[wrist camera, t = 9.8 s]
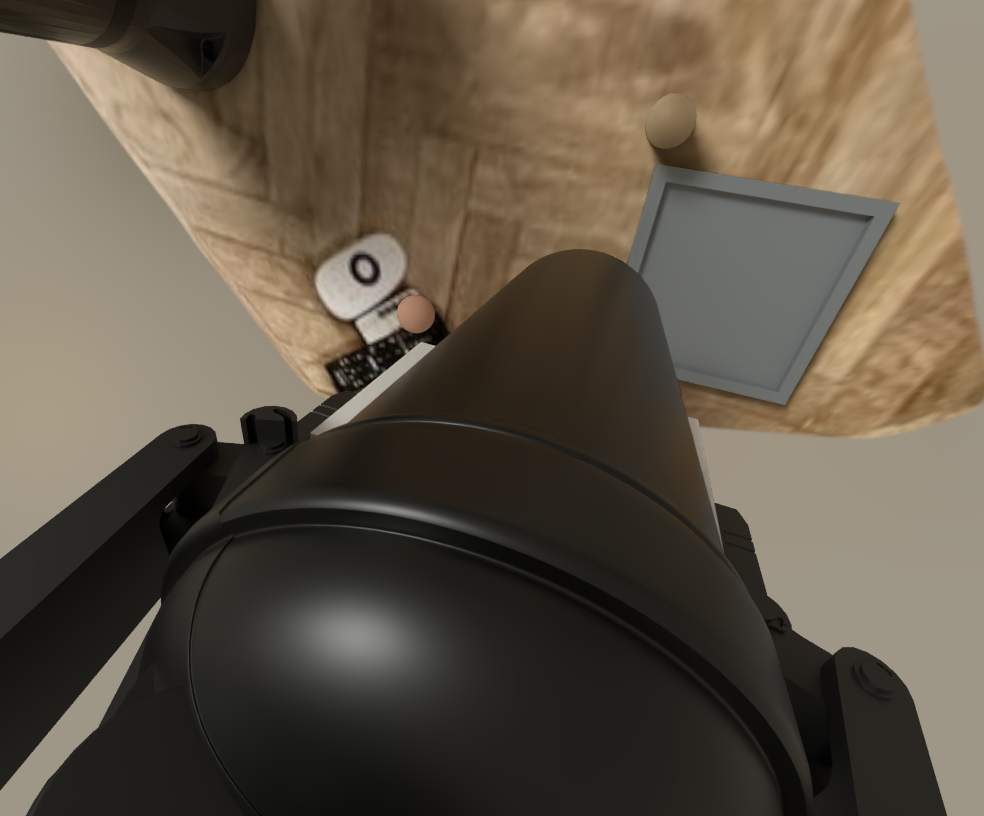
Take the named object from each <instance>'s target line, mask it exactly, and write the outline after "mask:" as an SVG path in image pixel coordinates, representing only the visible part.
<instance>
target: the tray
mask: <svg viewBox="0 0 984 816" xmlns="http://www.w3.org/2000/svg"><path fill="white" fill-rule="evenodd" d="M899 204H900V203H896V202H891V201H885V200H879V199H873V198H867V197H860V196H854V195H848V194H842V193H835V192H829V191H823V190H817V189H811V188H804V187H798V186H792V185H786V184H780V183H773V182H767V181H761V180H755V179H749V178H742V177H736V176H730V175H724V174H718V173H711V172H705V171H699V170H693V169H686V168H680V167H674V166H668V165H662V164H656V165H655V169H654V172H653V176H652V179H651V183H650V186H649V190H648V193H647V197H646V200H645V204H644V207H643V210H642V214H641V217H640V221H639V224H638V228H637V231H636V235H635V238H634V242H633V245H632V249H631V252H630V255H629V259H628V262H627V265H629V266H630V267H631V268H633V269H634V270H635V271H636V272H637V273H638V274H639V275H640V276H641V277H642V278H643V279H644V281H645V282H646V283H647V285H648V286H649V288H650V290H651V291H652V293H653V295H654V297H655V300H656V303H657V306H658V309H659V313H660V317H661V320H662V324H663V328H664V332H665V335H666V339H667V343H668V347H669V350H670V354H671V358H672V361H673V365H674V369H675V373H676V376H677V379H678V380H682V381H686V382H690V383H694V384H699V385H703V386H707V387H711V388H715V389H720V390H724V391H728V392H732V393H736V394H740V395H745V396H749V397H753V398H757V399H761V400H766V401H770V402H774V403H778V404H782V405H785V404H786V403H787V401H788V399H789V397H790V395H791V394H792V392H793V390H794V388H795V387H796V385H797V383H798V381H799V380H800V378H801V376H802V374H803V373H804V371H805V369H806V367H807V366H808V364H809V362H810V360H811V359H812V357H813V355H814V353H815V352H816V350H817V348H818V346H819V345H820V343H821V341H822V339H823V338H824V336H825V334H826V332H827V331H828V329H829V327H830V325H831V324H832V322H833V320H834V318H835V317H836V315H837V313H838V311H839V309H840V308H841V306H842V304H843V302H844V301H845V299H846V297H847V295H848V294H849V292H850V290H851V288H852V287H853V285H854V283H855V281H856V280H857V278H858V276H859V274H860V273H861V271H862V269H863V267H864V266H865V264H866V262H867V260H868V259H869V257H870V255H871V253H872V252H873V250H874V248H875V246H876V245H877V243H878V241H879V239H880V238H881V236H882V234H883V232H884V231H885V229H886V227H887V225H888V223H889V222H890V220H891V218H892V216H893V215H894V213H895V211H896V209H897V208H898V206H899Z"/></svg>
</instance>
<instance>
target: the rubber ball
mask: <svg viewBox="0 0 984 816" xmlns="http://www.w3.org/2000/svg"><path fill="white" fill-rule="evenodd" d="M397 317H398V320H399V322H400V324H401V326H402V327H403V328H404V329H406V330H407V331H409V332H412V333H421V332H424V331H426V330H427V329H429V328H430V327H431V325H432V324H433V322H434V318H435V311H434V308H433V305H432V304H431V302H430V301H429V300H428V299H426V298H425V297H423V296H419V295H411V296H408V297H406V298H405V299H403V300H402V302H401V303H400V304H399V307H398V310H397Z"/></svg>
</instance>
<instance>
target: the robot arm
mask: <svg viewBox="0 0 984 816" xmlns="http://www.w3.org/2000/svg"><path fill="white" fill-rule="evenodd" d="M254 25H255V0H0V32H2V33H8V34H14V35H20V36H26V37H32V38H38V39H44V40H50V41H56V42H62V43H68V44H75V45H80V46H85V47H91V48H95V49H97V50H99V51H101V52H103V53H105V54H107V55H109V56H111V57H112V58H114V59H116V60H118V61H120V62H122V63H124V64H126V65H127V66H129V67H131V68H133V69H135V70H137V71H139V72H140V73H142V74H144V75H146V76H148V77H150V78H152V79H154V80H156V81H158V82H160V83H163V84H166V85H169V86H172V87H177V88H183V89H190V90H199V91H206V90H212V89H216V88H218V87H221V86H223V85H224V84H226V83H227V82H229V81H230V80H231V79H232V78H233V77H234V76H235V75H236V74H237V73H238V71H239V70H240V68H241V67H242V65H243V63H244V61H245V59H246V57H247V55H248V52H249V49H250V46H251V42H252V38H253V32H254ZM434 347H435V346H433V345H430V344H426V343H423V342H421V343H419V344H418V345H417V346H416V347H414V348H413V349H412V350H411V351H410V352H408V353H407V354H406V355H405V356H403V357H402V358H401V359H400V360H399V361H397V362H396V363H395V364H394V365H392V366H391V367H390V368H389V369H388V370H386V371H385V372H384V373H383V374H381V375H380V376H379V377H378V378H377V379H375V380H374V381H373V382H372V383H370V384H369V385H368V386H367V387H366V388H364V389H363V390H362V391H361V392H359V393H358V394H357V393H353V392H350V391H344V392H341V393H338V394H335V395H333V396H331V397H330V398H328V399H327V400H326V401H324V402H323V403H322V404H321V406H318V407H316V408H315V409H314V410H313V412H310V413H309V414H307V415H306V416H305V417H303V418H302V419H301V420H299V421H298V422H297V416H296V414H295V413H294V412H293V411H291V410H289V409H287V408H285V407H279V406H264V407H260V408H257V409H253V410H251V411H249V412H247V413H245V414H244V415H243V416H242V417H241V418H240V421H241V427H242V433H243V439H244V444H235V443H223V442H217V437H216V433H215V431H214V430H213V429H212V428H210V427H208V426H205V425H198V424H189V425H182V426H178V427H175V428H172V429H169V430H167V431H166V432H164V433H162V434H160V435H159V436H158V437H157V438H155V439H154V440H153V441H152V442H150V443H149V444H148V445H146V446H145V447H144V448H142V449H141V450H140V451H139V452H137V453H136V454H135V455H133V456H132V457H131V458H130V459H128V460H127V461H126V462H124V463H123V464H122V465H121V466H119V467H118V468H117V469H115V470H114V471H113V472H111V474H109V475H108V476H106V477H105V478H104V479H103V480H101V481H100V482H99V483H97V484H96V485H95V486H94V487H92V488H91V489H90V490H88V491H87V492H86V493H84V494H83V495H82V496H81V497H79V498H78V499H77V500H76V501H74V502H73V503H72V504H70V505H69V506H68V507H66V508H65V509H64V510H63V511H61V512H60V513H59V514H57V515H56V516H55V517H54V518H52V519H51V520H50V521H49V522H47V523H46V524H45V525H43V526H42V527H41V528H39V529H38V530H37V531H36V532H34V533H33V534H32V535H30V536H29V537H28V538H27V539H25V540H24V541H23V542H21V543H20V544H19V545H18V546H16V547H15V548H14V549H12V550H11V551H10V552H9V553H7V554H6V555H5V556H3V557H2V558H1V559H0V790H1V789H2V788H3V786H4V785H5V784H6V783H7V782H8V781H9V779H10V778H11V777H12V776H13V775H14V773H15V772H16V771H17V770H18V769H19V767H20V766H21V765H22V764H23V762H24V761H25V760H26V759H27V758H28V757H29V755H30V754H31V753H32V752H33V750H34V749H35V748H36V747H37V746H38V745H39V743H40V742H41V741H42V740H43V738H44V737H45V736H46V735H47V734H48V732H49V731H50V730H51V729H52V728H53V726H54V725H55V724H56V723H57V722H58V720H59V719H60V718H61V717H62V716H63V714H64V713H65V712H66V711H67V710H68V708H69V707H70V706H71V705H72V704H73V702H74V701H75V700H76V699H77V697H78V696H79V695H80V694H81V693H82V692H83V690H84V689H85V688H86V687H87V685H88V684H89V683H90V682H91V681H92V679H93V678H94V677H95V676H96V675H97V673H98V672H99V671H100V670H101V669H102V667H103V666H104V665H105V664H106V663H107V661H108V660H109V659H110V658H111V657H112V655H113V654H114V653H115V652H116V651H117V649H118V648H119V647H120V646H121V644H122V643H123V642H124V641H125V640H126V638H127V637H128V636H129V635H130V634H131V632H132V631H133V630H134V629H135V628H136V626H137V625H138V624H139V623H140V622H141V620H142V619H143V618H144V617H145V615H146V614H147V613H148V612H149V611H150V609H151V608H152V607H153V606H154V605H155V603H156V602H157V601H158V600H159V599H160V598H161V581H162V576H163V571H164V568H165V565H166V562H167V560H168V558H169V556H170V554H171V552H172V551H173V549H174V548H175V546H176V545H177V544H178V542H179V541H180V540H181V539H182V537H183V536H184V535H185V534H186V533H187V532H188V531H189V529H190V528H191V527H192V526H193V525H194V524H195V523H196V522H197V521H198V520H200V519H201V518H202V517H203V516H204V515H205V514H207V513H208V512H209V511H210V510H211V509H213V508H214V507H215V506H216V505H217V504H218V503H220V502H221V501H222V500H223V499H224V498H226V497H227V496H228V495H229V494H230V493H232V492H233V491H234V490H235V489H236V488H237V487H239V486H240V485H241V484H242V483H243V482H245V481H246V480H247V479H248V478H249V477H251V476H252V475H253V474H254V473H255V472H256V471H258V470H259V469H260V468H261V467H262V466H264V465H265V464H266V463H267V462H268V461H270V460H271V459H272V458H273V457H275V456H276V455H277V454H279V453H280V452H282V451H283V450H285V449H287V448H288V447H290V446H292V445H293V444H295V443H297V442H302V441H306V440H309V439H311V438H313V437H315V436H317V435H319V434H321V433H323V432H325V431H327V430H330V429H332V428H335V427H337V426H340V425H343V424H346V423H348V422H349V421H350V420H351V419H352V418H353V417H355V416H356V415H357V414H358V413H359V412H360V411H362V410H363V409H364V408H365V407H366V406H367V405H368V404H370V403H371V402H372V401H373V400H374V399H375V398H377V397H378V396H379V395H380V394H381V393H382V392H383V391H385V390H386V389H387V388H388V387H389V386H390V385H392V384H393V383H394V382H395V381H396V380H397V379H398V378H400V377H401V376H402V375H403V374H404V373H405V372H407V371H408V370H409V369H410V368H411V367H412V366H414V365H415V364H416V363H417V362H418V361H419V360H420V359H422V358H423V357H424V356H425V355H426V354H427V353H429V352H430V351H431V350H432V349H433V348H434ZM688 421H689V425H690V428H691V432H692V434H693V438H694V443H695V447H696V451H697V455H698V458H699V462H700V466H701V469H702V473H703V477H704V481H705V484H706V488H707V492H708V496H709V499H710V503H711V507H712V510H713V514H714V518H715V522H716V525H717V529H718V533H719V537H720V540H721V544H722V548H723V551H724V555H725V556H726V557H727V559H728V560H729V562H730V563H731V564H732V566H733V567H734V569H735V570H736V572H737V573H738V575H739V576H740V578H741V579H742V581H743V583H744V585H745V587H746V589H747V590H748V592H749V595H750V596H751V598H752V599H753V601H754V603H755V604H756V606H757V608H758V609H759V611H760V613H761V615H762V617H763V619H764V620H765V623H766V625H767V627H768V629H769V632H770V634H771V637H772V640H773V642H774V645H775V649H776V652H777V656H778V659H779V663H780V666H781V670H782V673H783V677H784V680H785V684H786V687H787V691H788V694H789V698H790V701H791V705H792V708H793V712H794V715H795V719H796V722H797V726H798V729H799V733H800V736H801V740H802V743H803V747H804V750H805V754H806V757H807V761H808V765H809V768H810V774H811V779H812V788H813V797H814V816H947V814H946V810H945V807H944V804H943V800H942V797H941V794H940V790H939V787H938V783H937V780H936V776H935V773H934V770H933V766H932V763H931V759H930V756H929V752H928V749H927V746H926V742H925V739H924V735H923V732H922V729H921V725H920V722H919V718H918V715H917V711H916V708H915V704H914V701H913V699H912V697H911V695H910V693H909V690H908V688H907V687H906V685H905V684H904V683H903V682H902V680H901V679H900V678H899V677H898V675H897V674H896V673H895V672H894V671H893V670H891V669H890V668H889V667H888V666H887V665H886V664H884V663H883V662H882V661H881V660H879V659H877V658H876V657H874V656H873V655H871V654H869V653H867V652H865V651H862V650H859V649H857V648H854V647H843V648H841V649H840V650H838V651H837V652H836V653H835V654H834V655H831V654H830V653H829V652H827V651H825V650H823V649H822V648H820V647H818V646H817V645H815V644H813V643H812V642H810V641H808V640H807V639H805V638H803V637H802V636H800V635H799V634H797V633H796V632H795V631H793V630H792V626H791V623H790V621H789V619H788V617H787V615H786V613H785V612H784V611H783V610H782V608H781V607H780V606H779V605H778V604H777V603H776V602H775V601H774V600H772V599H771V598H770V597H768V596H767V593H766V589H765V585H764V582H763V578H762V574H761V571H760V567H759V563H758V560H757V556H756V554H755V549H754V545H753V542H751V540H752V538H751V534H750V531H749V527H748V524H747V523H746V522H745V520H744V519H743V517H742V516H741V515H740V513H739V512H738V511H737V510H736V509H733V508H730V507H727V506H723V505H720V504H717V503H714V499H713V495H712V489H711V484H710V479H709V474H708V469H707V464H706V458H705V453H704V448H703V443H702V438H701V433H700V427H699V422H698V419H695V418H691V417H688ZM171 501H172V503H171V504H170V505H169V506H168V507H167V508H165V507H166V506H167V505H168V504H169V503H170V502H171ZM162 604H163V603H162ZM161 606H162V605H161ZM154 620H155V619H154ZM153 622H154V621H153ZM152 624H153V623H152ZM151 626H152V625H151ZM150 629H151V627H150ZM150 629H149V631H150ZM149 631H148V632H147V634H146V636H145V638H144V640H143V642H142V644H141V646H140V648H139V650H138V652H137V654H136V656H135V657H134V659H133V661H132V663H131V665H130V667H129V669H128V671H127V673H126V675H125V677H124V679H123V681H122V683H121V685H120V686H119V688H118V690H117V692H116V694H115V696H114V698H113V700H112V702H111V704H110V706H109V708H108V710H107V712H106V713H105V715H104V717H103V719H102V721H101V723H100V725H99V727H100V726H101V725H103V724H104V723H105V722H106V721H108V720H109V719H110V718H111V717H113V716H114V715H115V713H116V711H117V710H118V708H119V706H120V705H121V703H122V702H123V700H124V699H125V697H126V695H127V694H128V692H129V691H130V689H131V688H132V687H133V685H134V684H135V682H136V681H137V680H138V673H139V667H140V662H141V658H142V653H143V650H144V646H145V643H146V640H147V637H148V634H149ZM99 727H98V728H99ZM55 773H56V772H55ZM55 773H54V774H55ZM54 774H53V775H52V776H51V778H49V780H48V781H47V782H46V784H45V785H44V787H43V788H42V790H41V791H40V793H39V795H38V796H37V798H36V799H35V800H34V802H33V804H32V806H31V808H30V809H29V811H28V813H27V815H26V816H30V814H31V812H32V811H33V809H34V807H35V805H36V803H37V801H38V799H39V797H40V795H41V793H42V792H43V790H44V789H45V787H46V786H47V784H48V783H49V782H50V780H51V779H52V777H53V776H54Z"/></svg>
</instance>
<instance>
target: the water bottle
mask: <svg viewBox="0 0 984 816" xmlns="http://www.w3.org/2000/svg"><path fill="white" fill-rule="evenodd" d="M162 603H163V604H162ZM161 605H162V606H161V607H160V609H159V611H158V613H157V615H156V617H155V620H154V622H153V624H152V626H151V629H150V631H149V634H148V637H147V640H146V643H145V646H144V650H143V653H142V658H141V662H140V667H139V673H138V680H137V681H136V682H135V684H134V685H133V687H132V688H131V689H130V691H129V692H128V694H127V695H126V697H125V699H124V700H123V702H122V703H121V705H120V706H119V708H118V710H117V711H116V713H115V715H114V716H113V717H111V718H110V719H109V720H108V721H106V722H105V723H104V724H103V725H101V726H100V727H99V728H97V729H96V730H95V731H94V732H92V733H91V734H90V735H89V736H88V737H87V739H85V740H84V741H83V742H82V743H81V744H80V745H79V746H78V747H77V748H76V749H75V750H74V751H73V752H72V753H71V754H70V756H69V757H68V758H67V759H66V760H65V762H64V763H63V764H62V765H61V766H60V767H59V769H58V770H57V771H56V773H55V774H54V776H53V777H52V779H51V780H50V782H49V783H48V784H47V786H46V787H45V789H44V790H43V792H42V793H41V795H40V797H39V799H38V801H37V803H36V805H35V807H34V809H33V811H32V812H31V814H30V816H814V797H813V788H812V779H811V774H810V768H809V765H808V761H807V757H806V754H805V750H804V747H803V743H802V740H801V736H800V733H799V729H798V726H797V722H796V719H795V715H794V712H793V708H792V705H791V701H790V698H789V694H788V691H787V687H786V684H785V680H784V677H783V673H782V670H781V666H780V663H779V659H778V656H777V652H776V649H775V645H774V642H773V640H772V637H771V634H770V632H769V629H768V627H767V625H766V623H765V620H764V619H763V617H762V615H761V613H760V611H759V609H758V608H757V606H756V604H755V603H754V601H753V599H752V598H751V596H750V595H749V592H748V590H747V589H746V587H745V585H744V583H743V581H742V579H741V578H740V576H739V575H738V573H737V572H736V570H735V569H734V567H733V566H732V564H731V563H730V562H729V560H728V559H727V557H726V556H725V555H724V551H723V548H722V544H721V540H720V537H719V533H718V529H717V525H716V522H715V518H714V514H713V510H712V507H711V503H710V499H709V496H708V492H707V488H706V484H705V481H704V477H703V473H702V469H701V466H700V462H699V458H698V455H697V451H696V447H695V443H694V438H693V434H692V432H691V428H690V425H689V421H688V417H687V414H686V410H685V406H684V402H683V399H682V394H681V391H680V387H679V384H678V380H677V376H676V373H675V369H674V365H673V361H672V358H671V354H670V350H669V347H668V343H667V339H666V335H665V332H664V328H663V324H662V320H661V317H660V313H659V309H658V306H657V303H656V300H655V297H654V295H653V293H652V291H651V290H650V288H649V286H648V285H647V283H646V282H645V281H644V279H643V278H642V277H641V276H640V275H639V274H638V273H637V272H636V271H635V270H634V269H633V268H631V267H630V266H629V265H627V264H626V263H624V262H623V261H621V260H619V259H617V258H615V257H613V256H611V255H608V254H605V253H602V252H598V251H593V250H582V249H576V250H566V251H560V252H556V253H553V254H550V255H547V256H545V257H543V258H541V259H539V260H537V261H535V262H534V263H532V264H531V265H529V266H528V267H527V268H526V269H524V270H523V271H522V272H521V273H520V274H519V275H517V276H516V277H515V278H514V279H513V280H512V281H511V282H509V283H508V284H507V285H506V286H505V287H504V288H502V289H501V290H500V291H499V292H498V293H497V294H496V295H494V296H493V297H492V298H491V299H490V300H489V301H487V302H486V303H485V304H484V305H483V306H482V307H481V308H479V309H478V310H477V311H476V312H475V313H474V314H472V315H471V316H470V317H469V318H468V319H467V320H465V321H464V322H463V323H462V324H461V325H460V326H459V327H457V328H456V329H455V330H454V331H453V332H452V333H450V334H449V335H448V336H447V337H446V338H445V339H444V340H442V341H441V342H440V343H439V344H438V345H437V346H435V347H434V348H433V349H432V350H431V351H430V352H429V353H427V354H426V355H425V356H424V357H423V358H422V359H420V360H419V361H418V362H417V363H416V364H415V365H414V366H412V367H411V368H410V369H409V370H408V371H407V372H405V373H404V374H403V375H402V376H401V377H400V378H398V379H397V380H396V381H395V382H394V383H393V384H392V385H390V386H389V387H388V388H387V389H386V390H385V391H383V392H382V393H381V394H380V395H379V396H378V397H377V398H375V399H374V400H373V401H372V402H371V403H370V404H368V405H367V406H366V407H365V408H364V409H363V410H362V411H360V412H359V413H358V414H357V415H356V416H355V417H353V418H352V419H351V420H350V421H349V422H348V423H346V424H343V425H340V426H337V427H335V428H332V429H330V430H327V431H325V432H323V433H321V434H319V435H317V436H315V437H313V438H311V439H309V440H306V441H302V442H297V443H295V444H293V445H292V446H290V447H288V448H287V449H285V450H283V451H282V452H280V453H279V454H277V455H276V456H275V457H273V458H272V459H271V460H270V461H268V462H267V463H266V464H265V465H264V466H262V467H261V468H260V469H259V470H258V471H256V472H255V473H254V474H253V475H252V476H251V477H249V478H248V479H247V480H246V481H245V482H243V483H242V484H241V485H240V486H239V487H237V488H236V489H235V490H234V491H233V492H232V493H230V494H229V495H228V496H227V497H226V498H224V499H223V500H222V501H221V502H220V503H218V504H217V505H216V506H215V507H214V508H213V509H211V510H210V511H209V512H208V513H207V514H205V515H204V516H203V517H202V518H201V519H200V520H198V521H197V522H196V523H195V524H194V525H193V526H192V527H191V528H190V529H189V531H188V532H187V533H186V534H185V535H184V536H183V537H182V539H181V540H180V541H179V542H178V544H177V545H176V546H175V548H174V549H173V551H172V552H171V554H170V556H169V558H168V560H167V562H166V565H165V568H164V571H163V576H162V581H161Z"/></svg>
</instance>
